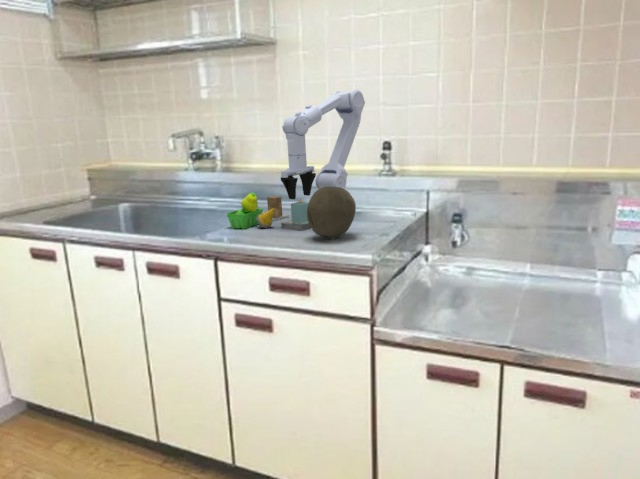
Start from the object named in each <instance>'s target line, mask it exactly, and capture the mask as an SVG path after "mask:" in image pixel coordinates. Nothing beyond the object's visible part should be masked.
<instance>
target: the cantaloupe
mask: <svg viewBox="0 0 640 479" xmlns="http://www.w3.org/2000/svg"><path fill="white" fill-rule="evenodd" d="M308 202H309V204H308V207H307V219H308V223H309V225H310V227H311V228H310V229H311V230H312V231H313V232H314V234H316V235H317V236H319V237H321V238H323V239H327V240H335V239H338V238H340V237H341V236H343V235H345V233H347V231H349V229H350V227H351V226H352V224H353V221H354V219H355V217H356V216H355V215H356V211H357V210H356V209H357V208H356V205H357V204H356V201H355V198H354V197H353V196H352V195H351V193H350V192H349V190H347V189H346V188H345V189H343V188H340V187H323V188H321V189H318V188H317V189H316V191H314V193H313V194H312V195H311V197H310V198H309V201H308Z"/></svg>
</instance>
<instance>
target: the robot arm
mask: <svg viewBox="0 0 640 479" xmlns="http://www.w3.org/2000/svg"><path fill="white" fill-rule="evenodd" d="M365 105H366V101H365V97H364V94H363V93H362V91H360V90H359V89H354V90H346V91H345V90H344V91H336V92H335V93H332V94H330V96H329V97H327V98H326V99H325V100H323V101H322V102H320V103H319V104H318V105H317V106H316V105H313V104H312V105H311V104H308V105H306V106H305V108H304V109H303V110H301V111H297V112H295V115H294V116H288V117H287V118H285V119H284V122H283V125H282V126H281V127H282V131H283V133H284V134H285V139H286V141H287V142H286V143H287V155H288V156H287V157H288V158H287V159H288V168H287V169H286V170H282V171H280V173H281V174H280V175H281V177H280V181H281V183H282V184H283V186H284V188H285V191H286V193H287V196H288V199H289V200H296V198H297V197H296V196H297V182H298V179H299V178H300V181H301V184H302V186H301V187H302V192H303V195H304V196H306V197H307V196H311V192H312V187H313V182H314V180H315V182H314V183H315V187H316V188H317V190H318V189H321V188H323V187H340V188H343V189H345V190H346V188H347V178H348V174H349V173H348V171H347V169H345V166H346V164H347V161H348V157H349V155H350V152H351V149H352V147H353V144H354V142H355V141H354V140H355V138H356V135H357V132H358V129H359V128H360V123H361V119H362V118H361V117H362V113H363V110H364V107H365ZM333 110H335V111H336V112H337V114H338V116H339V117H340V118H341V120H343V123H342V125H341V128H340V130H339V134H338V137H337V139H336V141H335V145H334V147H333V149H332V153H331V156H330V158H329V161H328V163H327V164H325V165H324V166H323V167H321V170H320V172H318V174H317V175H316V173H315V166H314V165H309V166H307V165H308V163H307V148H306V134H307V133H308V131H309V129H310V128H311V127H313V126H314V125H317V124H318V123H319V122H320V121H322V117H323V116H324V115H325V114H327V113H329V112H331V111H333ZM295 176H299V178H298V177H295Z"/></svg>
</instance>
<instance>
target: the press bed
mask: <svg viewBox="0 0 640 479" xmlns="http://www.w3.org/2000/svg"><path fill="white" fill-rule="evenodd" d="M280 224H281V228H282V229H286V230H287V229H288V230H294V231H305V230H309V229H312V228H311V227H310V225H309V223H308V222H305V223H296V222H292V220H287V221H285V222H281V223H280Z"/></svg>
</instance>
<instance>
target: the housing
mask: <svg viewBox="0 0 640 479" xmlns="http://www.w3.org/2000/svg"><path fill="white" fill-rule="evenodd" d="M308 204H309V201H303V199H298V201H296V202H293V203H290V214H291V221H292V222H296V223H305V222H308V219H307V207H308Z"/></svg>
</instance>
